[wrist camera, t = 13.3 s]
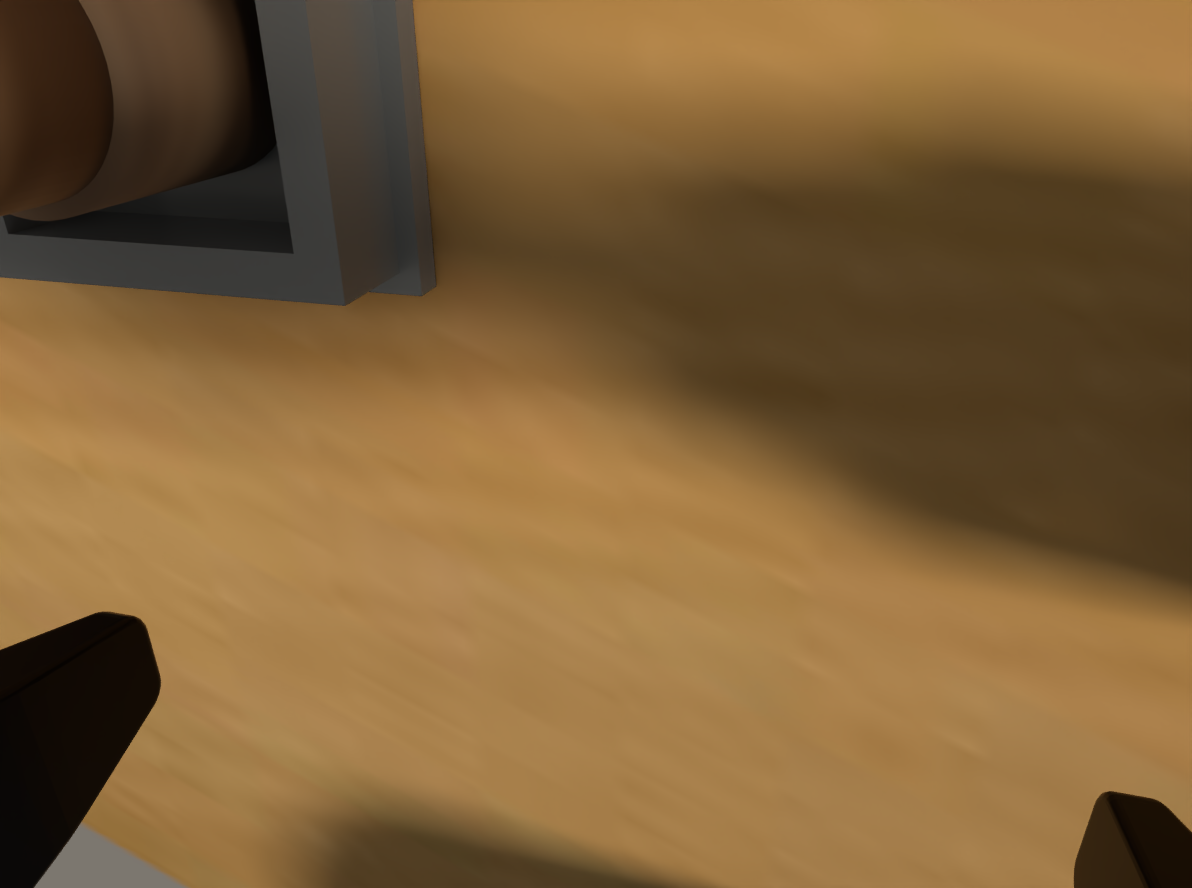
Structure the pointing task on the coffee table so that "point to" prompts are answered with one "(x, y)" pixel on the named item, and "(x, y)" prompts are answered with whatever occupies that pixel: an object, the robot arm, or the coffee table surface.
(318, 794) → the coffee table surface
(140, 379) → the coffee table surface
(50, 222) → the slate open box
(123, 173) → the pepper mill
